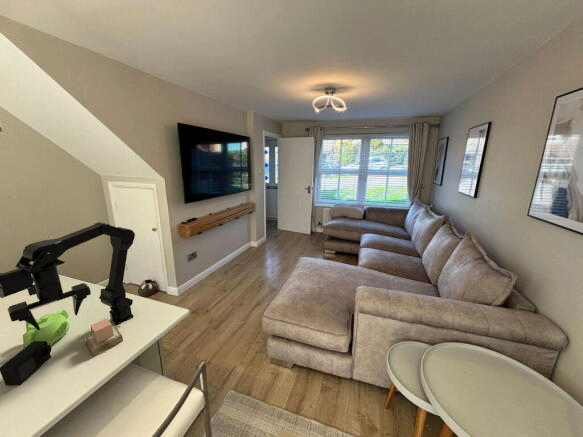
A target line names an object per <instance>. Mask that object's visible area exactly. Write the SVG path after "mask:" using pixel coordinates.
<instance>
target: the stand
mask: <svg viewBox="0 0 583 437" xmlns="http://www.w3.org/2000/svg"><path fill="white" fill-rule="evenodd" d="M115 325H116V324H115V323H114V324H112V329H113V333H114V336H112V337H110V338H107V339H105V340H103V341H101V342H99V343H97V342H96V341H95V339H94V337H93V334H92V333H91V334H90V335H87V336H84V340H85V341H84V342H85V345H86V346H87V347H88V349H89V351H90V352H91V355H92V356H93V357H95V356H96V355H98V354H100V353H102V352H104V351H106V350H108V349H110V348H112V347H114V346H116V345H117V344H120V343H121V342H123V341H124V338H123V337H124V336H123V334H122V333H121V332H120V331H119V329H118V328H117V327H116V326H115Z"/></svg>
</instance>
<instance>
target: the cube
mask: <svg viewBox="0 0 583 437" xmlns="http://www.w3.org/2000/svg"><path fill="white" fill-rule="evenodd" d="M109 320H110V319H108V318H104V319H102V320H99V321H98V322H94V323H93V324H90V330H91V334H93V337H94V339H95V341H96V342H97V343H99V342H101V341H103V340H105V339H107V338H110V337H112V336H114V333H113V329H112V325H113V324H112V323H111V322H110V321H111V320H110V321H109Z"/></svg>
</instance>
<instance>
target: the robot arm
mask: <svg viewBox="0 0 583 437" xmlns="http://www.w3.org/2000/svg"><path fill="white" fill-rule="evenodd" d="M103 235H105V236H109V240H110V241H109V242H110V244H111V247H112V253H111V254H112V257H111V262H110V263H111V264H110V270H109V276H108V283H107V285H106V286H105V287H104V288H100V295H99V297H98V299H99V300H100V303H101V304H103V305H105V306H108V307H109V309H110V311H109V317H110V321H112V323H114V325H119V324H121V323H124V322H126V321H128V320H130V319H133V318H134V314H133V313H132V312H133V311H132V307H131V306H132V305H133V302H134V299H131V298H129V297H127V296H126V295H127V294H126V293H127V291H126V289H125V287H124V286H125V285H124V277H125V272H126V271H125V270H126V265H127V258H128V251H129V249H130V248H131V246H132V245H133V244H134V241H135V237H136V234H135V231H134V230H132V229H129V228H127V227H126V228H125V227H120V226H117V227H116V226H113V225H111V224H109V223H105V222H102V221H101V222H100V221H98V222H96V223H94V224H92V225H89V226H87V227H84V228H81V229H79V230H77V231H73V232H71V233H69V234H66V235H63V236H60V237H58V238H54V239H52V238H51V239H45V240H39V241H36V242H32V243H29V244H27V245H25V247H24V249H23V251H22V256H21V257H20V259H19V260H18V262H17V263H16V265H15V268H16V269H12V270H9V271H5V272H0V298H1V299H3V298H7V297H9V296H12V295H15V294H18V293H19V292H23V291H25V290H27V292H28V295H29V296H34V295H36V298H37V299H38V301H35V302H34V301H33V302H32V303H29V304H28V303H27V301H26V300H25V301H22V302H19V303H15V304H13V305H10V306H9V307H7V312H8V315H9V318H10V321H11V322H17V321H18V322H23V321H24V322H25V323H26V322H28V323H30V324H31V325H33V326H34V327H35V328H36V329H37V330H40V328H39V325H38V323H37V321H36V319H37V318H35V316H34V314H33V312H32V310H35V309H38V308H42V307H44V306H47V305H50V304H53V303H56V302H59V301H62V300H65V299H67V298H70V297H71V298H72V303H73V304H72V306H73V313H74V315H75V316H78V313H79V310H80V308H81V305H82V303H83V301H84V300H85V299H86V298H88V296H90V295H91V294H92V291H91V288H90V286H89V285H88V284H87V283H85V282H82V283H79V284H76V285H72V286H71V287H70V288H71V290H68V291H65V292H64V290H63V286H62V282H61V279H60V274H59V270H58V266H60V265H64V264H65V263H66V262H65V260H61V259H59V257H61V256H63V255H64V253H66V251H68V250H70V249H72V248H75V247H77V246H80V245H81V244H84V243H87V242H89V241H91V240H93V239H95V238H98V237H100V236H103ZM31 262H32V263H31Z"/></svg>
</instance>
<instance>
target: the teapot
mask: <svg viewBox="0 0 583 437" xmlns="http://www.w3.org/2000/svg"><path fill="white" fill-rule="evenodd" d="M68 318H69V314H68V312H67V311H66V309H65V308H64V309H63V308H61V309H59V310H58V311H57V312H56V313H46V314H45V315H42V316H40V317H39V318H35V319H36V321H37V323H38V325H39V328H40V330H37V329H36V328H35V327H34V326H33V325H31V324H30V323H28V322H26V321H25V328H26V331H25V333H23V334H22V345H23V346H28V345H29V344H31V343H32V342H33V341H47V344H48V345H50V346H51V347H52V346H54V345H55V342H56V341H58V340H60V339H61V338H62V337H65V336H66V335H67V332H68V331H69V329H70V326H71V324H70V322H69V320H68Z"/></svg>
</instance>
